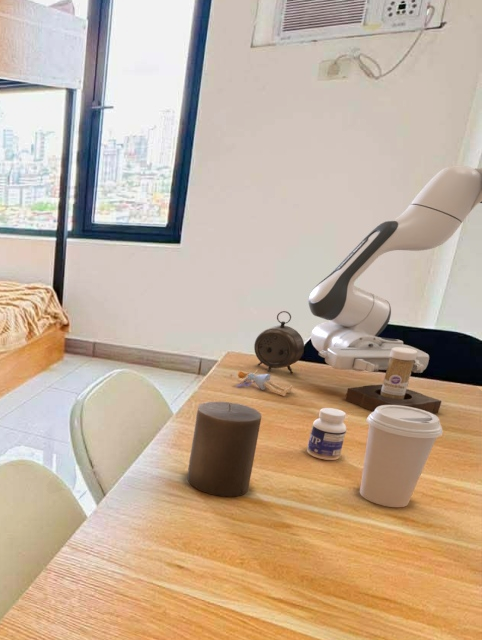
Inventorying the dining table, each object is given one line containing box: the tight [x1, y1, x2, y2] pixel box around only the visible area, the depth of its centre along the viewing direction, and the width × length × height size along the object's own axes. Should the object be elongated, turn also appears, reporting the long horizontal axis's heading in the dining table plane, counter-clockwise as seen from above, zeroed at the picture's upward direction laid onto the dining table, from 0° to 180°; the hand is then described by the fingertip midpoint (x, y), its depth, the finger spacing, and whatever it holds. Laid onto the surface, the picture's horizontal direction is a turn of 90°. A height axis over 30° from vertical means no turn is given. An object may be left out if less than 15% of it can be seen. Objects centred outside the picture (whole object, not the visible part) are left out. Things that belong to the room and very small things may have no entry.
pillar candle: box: [187, 401, 262, 498], centre depth 107 cm, size 10×10×15 cm
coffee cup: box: [359, 405, 443, 508], centre depth 101 cm, size 10×10×15 cm
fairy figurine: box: [235, 369, 293, 397], centre depth 154 cm, size 12×5×12 cm
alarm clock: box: [253, 310, 305, 375], centre depth 165 cm, size 11×5×16 cm, turn 34°
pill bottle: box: [306, 407, 347, 461], centre depth 118 cm, size 5×5×9 cm
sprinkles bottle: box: [380, 347, 417, 399], centre depth 140 cm, size 5×5×13 cm
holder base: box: [344, 383, 442, 415], centre depth 141 cm, size 12×12×3 cm
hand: (397, 369), depth 139 cm, fingers open, 8 cm apart
